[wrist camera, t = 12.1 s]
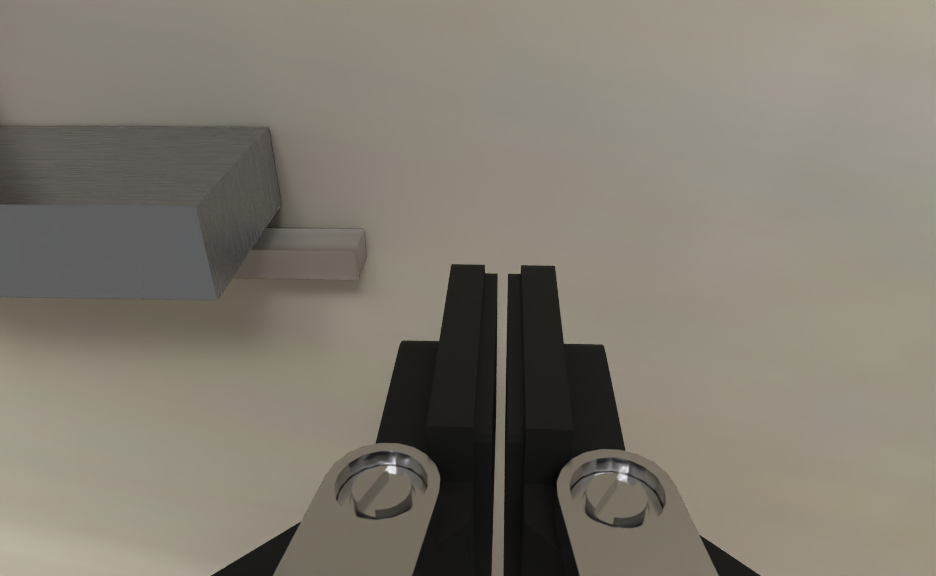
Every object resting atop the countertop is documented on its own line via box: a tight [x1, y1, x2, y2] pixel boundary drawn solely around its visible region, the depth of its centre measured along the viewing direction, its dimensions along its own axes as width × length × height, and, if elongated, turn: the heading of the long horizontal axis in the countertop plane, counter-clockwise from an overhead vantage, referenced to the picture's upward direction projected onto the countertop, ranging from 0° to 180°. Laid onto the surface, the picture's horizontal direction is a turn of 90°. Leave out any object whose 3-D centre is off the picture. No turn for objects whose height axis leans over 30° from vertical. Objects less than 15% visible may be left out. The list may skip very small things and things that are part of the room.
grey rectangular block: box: [0, 126, 281, 300], centre depth 15 cm, size 2×9×4 cm, turn 91°
